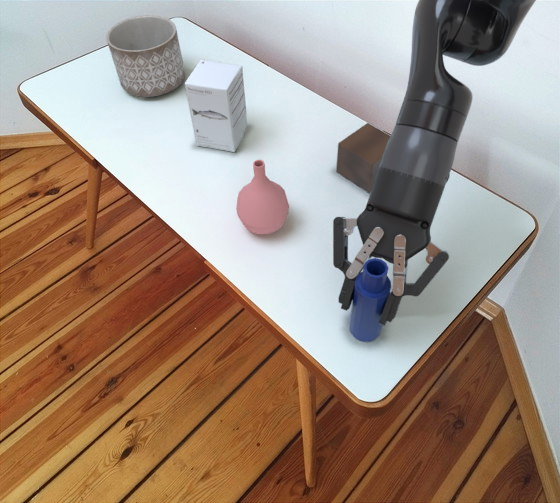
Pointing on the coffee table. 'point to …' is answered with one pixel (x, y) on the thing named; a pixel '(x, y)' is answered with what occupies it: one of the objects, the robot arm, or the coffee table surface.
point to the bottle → (369, 300)
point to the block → (362, 155)
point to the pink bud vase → (262, 203)
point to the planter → (146, 55)
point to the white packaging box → (217, 104)
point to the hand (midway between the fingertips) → (364, 315)
